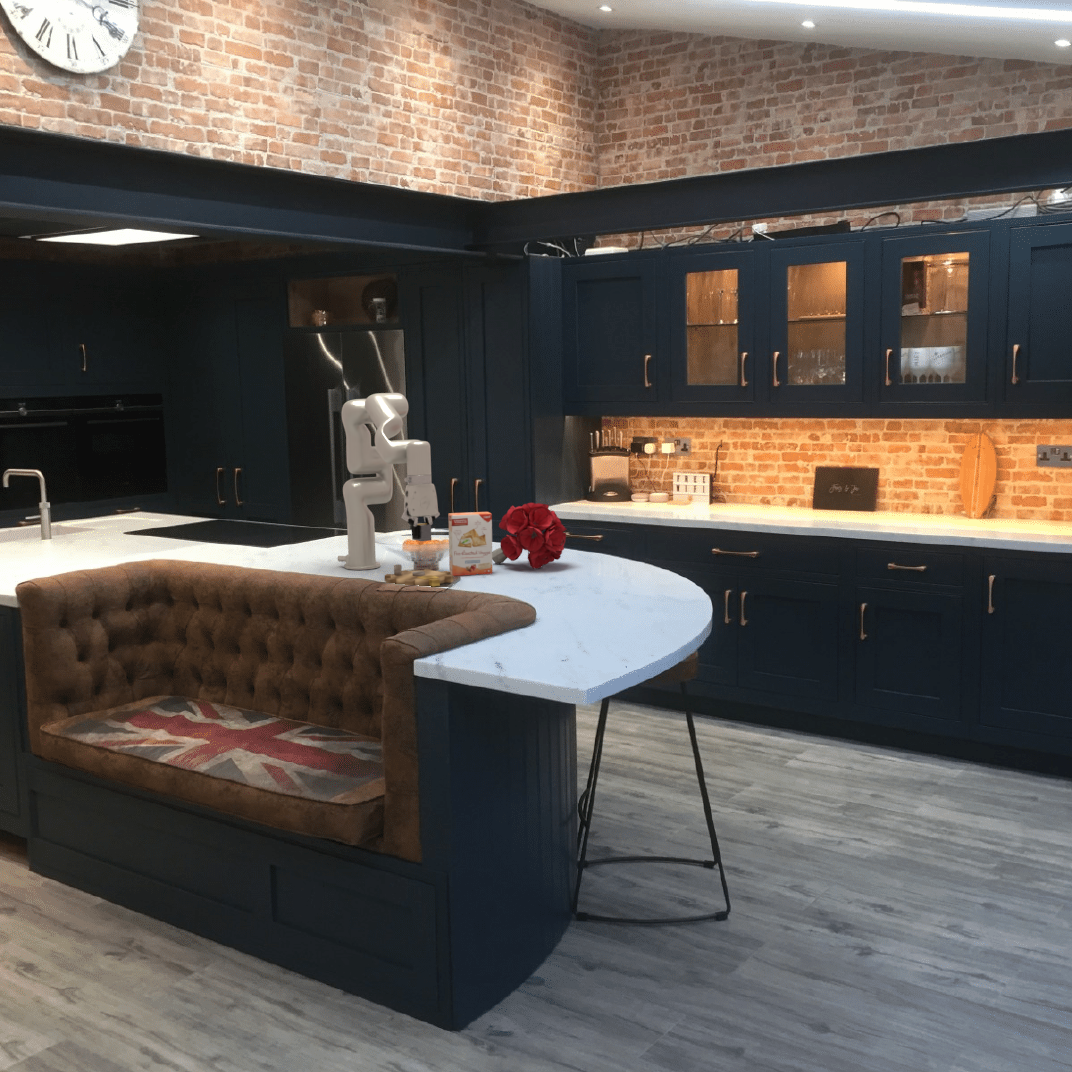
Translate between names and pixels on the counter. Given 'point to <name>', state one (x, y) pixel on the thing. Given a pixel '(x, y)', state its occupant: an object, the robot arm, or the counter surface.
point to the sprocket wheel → (418, 577)
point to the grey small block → (424, 532)
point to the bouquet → (531, 535)
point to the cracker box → (470, 543)
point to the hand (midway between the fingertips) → (421, 537)
